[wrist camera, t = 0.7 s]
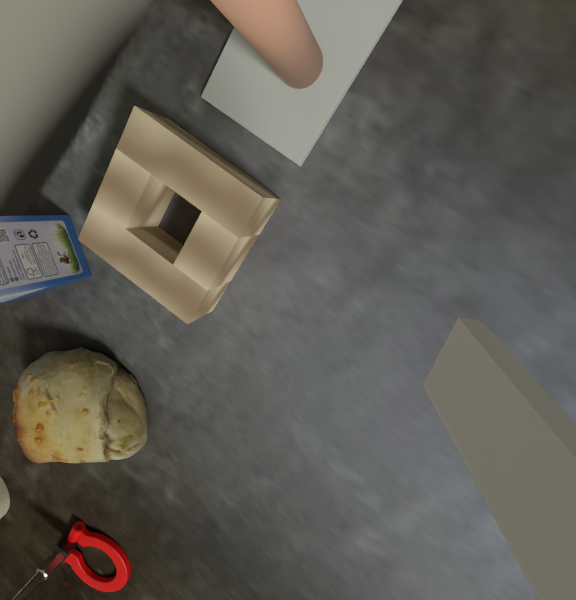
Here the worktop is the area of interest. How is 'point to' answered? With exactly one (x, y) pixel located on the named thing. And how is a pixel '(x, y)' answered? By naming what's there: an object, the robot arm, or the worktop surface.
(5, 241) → the milk carton
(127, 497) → the worktop surface
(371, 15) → the mat
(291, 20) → the peg
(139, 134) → the hole block
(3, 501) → the reusable coffee cup
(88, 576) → the tow hook
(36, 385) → the pastry
